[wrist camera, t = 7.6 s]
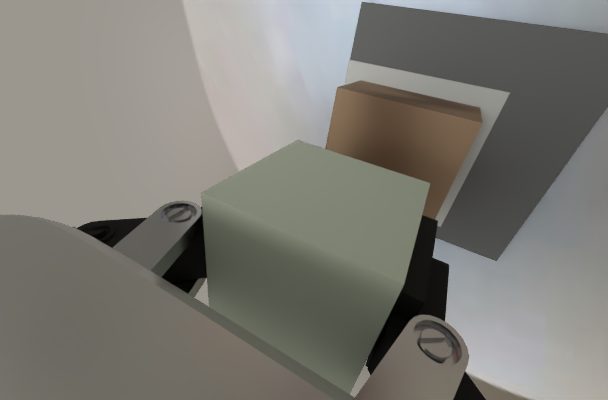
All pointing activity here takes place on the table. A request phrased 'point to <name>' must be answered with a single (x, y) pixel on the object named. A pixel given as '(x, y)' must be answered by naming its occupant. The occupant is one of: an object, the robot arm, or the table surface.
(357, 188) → the top block
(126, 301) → the robot arm
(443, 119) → the base block
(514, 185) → the mat
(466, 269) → the table surface
